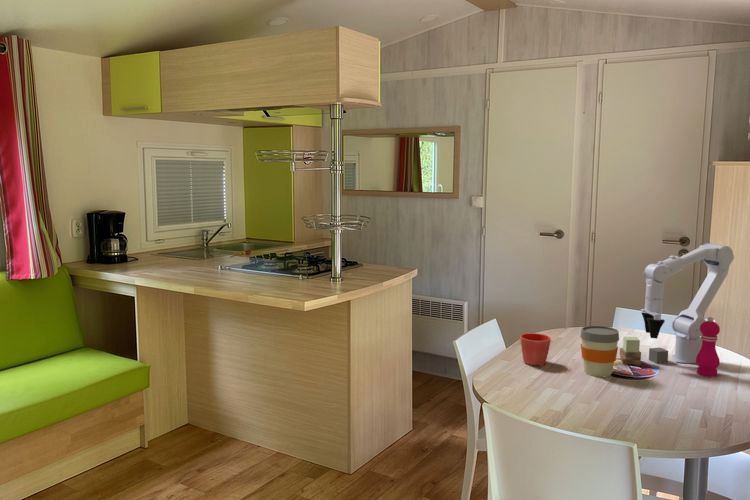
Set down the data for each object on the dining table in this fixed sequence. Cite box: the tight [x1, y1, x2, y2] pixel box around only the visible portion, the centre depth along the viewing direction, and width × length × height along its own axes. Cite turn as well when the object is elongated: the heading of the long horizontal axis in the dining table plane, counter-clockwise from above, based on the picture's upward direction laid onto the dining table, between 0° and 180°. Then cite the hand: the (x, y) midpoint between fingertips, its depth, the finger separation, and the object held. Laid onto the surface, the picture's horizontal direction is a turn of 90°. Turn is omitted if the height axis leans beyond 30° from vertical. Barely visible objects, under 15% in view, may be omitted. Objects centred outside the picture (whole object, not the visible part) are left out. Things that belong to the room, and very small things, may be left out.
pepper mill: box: [695, 316, 721, 378], centre depth 216 cm, size 7×7×20 cm
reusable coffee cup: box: [580, 325, 620, 378], centre depth 219 cm, size 13×13×15 cm
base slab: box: [619, 355, 642, 366], centre depth 231 cm, size 6×6×2 cm
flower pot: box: [520, 332, 552, 366], centre depth 230 cm, size 11×11×10 cm
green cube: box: [622, 336, 641, 353], centre depth 229 cm, size 4×4×4 cm
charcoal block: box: [648, 347, 669, 365], centre depth 231 cm, size 4×4×4 cm
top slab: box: [619, 347, 642, 360], centre depth 230 cm, size 6×6×2 cm
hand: (651, 335), depth 228 cm, fingers open, 7 cm apart
